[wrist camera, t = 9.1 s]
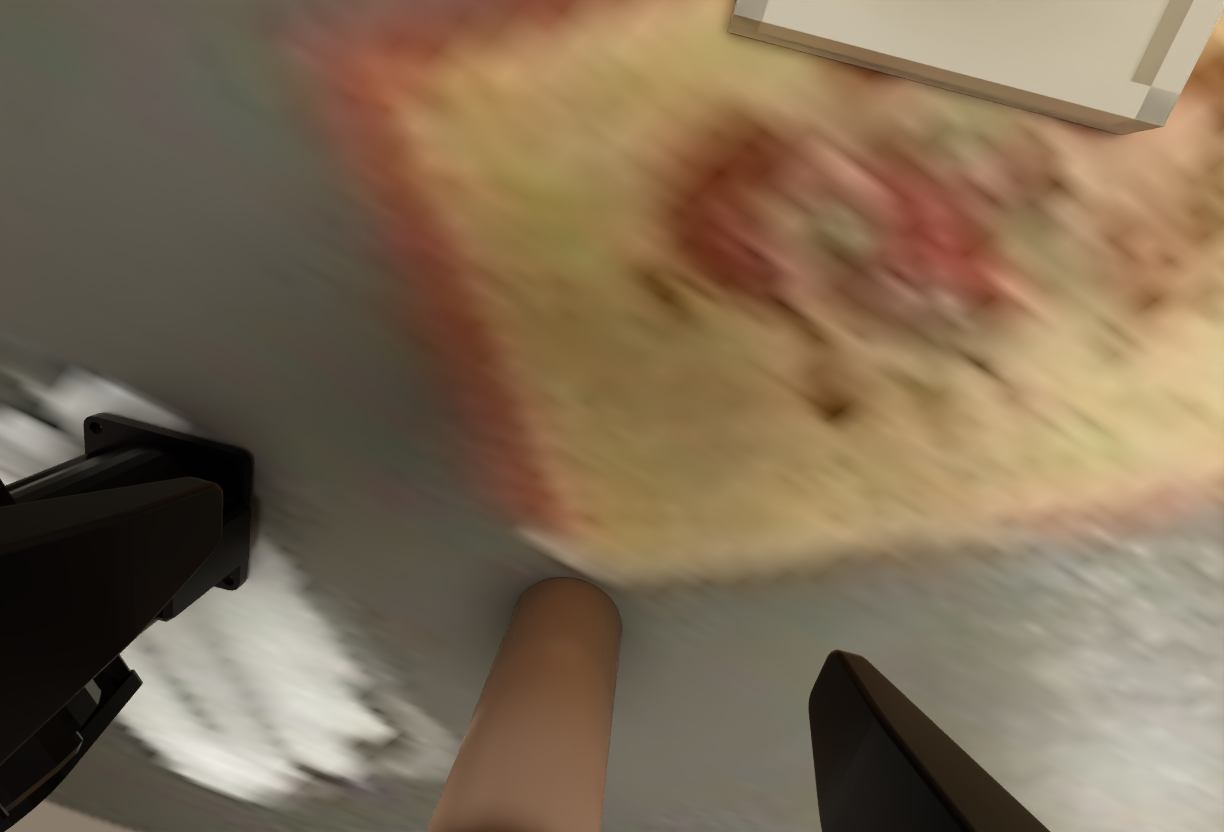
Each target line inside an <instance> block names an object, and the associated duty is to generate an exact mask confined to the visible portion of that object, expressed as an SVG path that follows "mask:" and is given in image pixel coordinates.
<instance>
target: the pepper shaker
mask: <svg viewBox="0 0 1224 832" xmlns="http://www.w3.org/2000/svg"><path fill="white" fill-rule="evenodd" d="M621 633H622V624H621V618H620V614H619V612H618V610H617V608H616V606H615V604H614V603H613V602H612V600H611V599H610V598H609V597H608V596H607V595H606V594H605V593H604V592H603V591H601V590H600V589H599V588H597V587H595V586H594V585H592V584H590V583H587V582H585V581H582V580H578V579H573V578H552V579H548V580H544V581H541V582H539V583H537V584H535V585H533V586H532V587H530V588H529V589H528V590H526V591H525V592H524V594H523V595H522V596H521V597H520V599H519V600H518V602H517V604H516V607H515V609H514V612H513V614H512V617H511V619H510V622H509V624H508V627H507V629H506V632H505V634H504V637H503V640H502V642H501V645H500V647H499V650H498V652H497V655H496V657H495V660H494V662H493V665H492V667H491V670H490V672H489V675H488V678H487V680H486V683H485V685H484V688H483V690H482V693H481V695H480V698H479V700H478V703H477V705H476V708H475V711H474V713H473V716H472V718H471V721H470V723H469V726H468V728H467V731H466V733H465V736H464V738H463V741H462V743H461V746H460V749H459V751H458V754H457V756H456V759H455V761H454V764H453V766H452V769H451V771H450V774H449V776H448V779H447V782H446V784H445V787H444V789H443V792H442V794H441V797H440V799H439V802H438V804H437V807H436V809H435V812H434V814H433V817H432V820H431V822H430V825H429V827H428V830H427V832H600V829H601V819H602V810H603V801H604V791H605V782H606V773H607V763H608V754H609V745H610V735H611V726H612V717H613V707H614V698H615V689H616V679H617V670H618V661H619V651H620V642H621Z"/></svg>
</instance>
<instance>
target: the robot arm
mask: <svg viewBox="0 0 1224 832" xmlns="http://www.w3.org/2000/svg"><path fill="white" fill-rule="evenodd" d="M100 426H101V427H102V428H101V427H100ZM84 439H85V455H82V456H80V457H77V458H75V459H72V460H70V461H67V462H65V463H62V464H60V465H57V466H54V467H52V468H49V469H47V470H44V471H42V472H39V473H37V474H34V475H32V476H29V477H27V478H24V479H21V480H19V481H16V482H14V483H11V484H9V485H6V486H5V485H4V484H3V482H2V481H1V479H0V832H4V831H6V830H7V829H9V828H10V827H11V826H13V825H14V824H15V823H17V822H18V821H19V820H20V819H22V818H23V817H24V816H25V815H27V814H28V813H29V812H30V811H32V810H33V809H34V808H35V807H36V806H37V805H38V804H40V803H41V802H42V801H43V800H44V799H45V798H46V797H47V796H48V795H49V794H50V793H51V792H52V791H53V790H54V789H55V788H56V787H57V786H58V785H59V784H60V783H61V782H62V781H63V780H64V778H65V777H66V776H67V775H68V774H69V772H70V771H71V770H72V769H73V768H74V766H75V765H76V764H77V763H78V762H79V760H80V759H81V758H82V757H83V755H84V754H85V753H86V752H87V751H88V749H89V748H90V747H91V746H92V744H93V743H94V742H95V741H96V740H97V738H98V737H99V736H100V735H101V734H102V732H103V731H104V730H105V729H106V727H107V726H108V725H109V724H110V723H111V721H112V720H113V719H114V718H115V717H116V715H117V714H118V713H119V712H120V710H121V709H122V708H123V707H124V706H125V704H126V703H127V702H128V701H129V700H130V698H131V697H132V696H133V695H134V693H135V692H136V691H137V690H138V689H139V687H140V686H141V685H142V683H143V682H142V680H141V679H140V677H139V676H138V675H137V673H136V672H135V670H130V669H129V668H128V666H127V665H126V663H125V662H124V660H123V659H122V657H121V656H120V653H121V652H122V651H123V650H124V649H125V648H126V647H127V646H128V645H129V644H130V643H131V642H132V641H133V640H134V639H135V638H136V637H137V636H138V635H139V634H141V633H142V632H143V631H144V630H146V629H147V628H148V627H150V626H151V625H152V624H153V623H155V622H156V621H157V620H161V621H166V622H167V621H169V620H171V619H172V618H174V617H176V616H177V615H178V614H180V613H181V612H182V611H183V610H185V609H186V608H187V607H188V606H190V605H191V604H192V603H193V602H195V601H196V600H197V599H198V598H200V597H201V596H202V595H203V594H205V593H206V592H207V591H208V590H210V589H211V588H212V587H213V586H215V587H218V588H222V589H226V590H232V591H233V590H236V589H237V588H239V587H240V586H241V585H242V584H243V583H244V582H245V581H246V578H247V559H248V558H249V543H250V520H251V508H250V483H251V459H250V457H249V455H248V454H247V453H246V452H245V451H243V450H240V449H237V448H234V447H230V446H226V445H222V444H218V443H215V442H211V441H207V440H203V439H200V438H196V437H192V436H188V435H185V434H181V433H177V432H173V431H170V430H166V429H162V428H158V427H155V426H151V425H147V424H143V423H139V422H136V421H132V420H128V419H124V418H121V417H117V416H113V415H109V414H106V413H99V414H96V415H92V416H90V417H87V418H86V419H85V420H84ZM233 459H234V460H236V462H237V463H238V465H236V464H235V463H234V462H233ZM230 576H231V577H232V578H233V579H232V578H231V577H230ZM809 719H810V729H811V739H812V749H813V758H814V768H815V778H816V788H817V798H818V807H819V814H820V822H821V828H822V832H1050V831H1049V830H1048V829H1047V828H1046V827H1045V826H1044V825H1043V824H1042V823H1041V822H1040V821H1038V820H1037V819H1036V818H1035V817H1034V816H1033V815H1032V814H1031V813H1030V812H1029V811H1028V810H1027V809H1026V808H1025V807H1024V806H1022V805H1021V804H1020V803H1019V802H1018V801H1017V800H1016V799H1015V798H1014V797H1013V796H1012V795H1011V794H1010V793H1009V792H1007V791H1006V790H1005V789H1004V788H1003V787H1002V786H1001V785H1000V784H999V783H998V782H997V781H996V780H995V779H994V778H993V777H991V776H990V775H989V774H988V773H987V772H986V771H985V770H984V769H983V768H982V767H981V766H980V765H979V764H978V763H977V762H975V761H974V760H973V759H972V758H971V757H970V756H969V755H968V754H967V753H966V752H965V751H964V750H963V749H962V748H960V747H959V746H958V745H957V744H956V743H955V742H954V741H953V740H952V739H951V738H950V737H949V736H948V735H947V734H946V733H944V732H943V731H942V730H941V729H940V728H939V727H938V726H937V725H936V724H935V723H934V722H933V721H932V720H931V719H930V718H928V717H927V716H926V715H925V714H924V713H923V712H922V711H921V710H920V709H919V708H918V707H917V706H916V705H915V704H913V703H912V702H911V701H910V700H909V699H908V698H907V697H906V696H905V695H904V694H903V693H902V692H901V691H900V690H899V689H897V688H896V687H895V686H894V685H893V684H892V683H891V682H890V681H889V680H888V679H887V678H886V677H885V676H884V675H883V674H881V673H880V672H879V671H878V670H877V669H876V668H875V667H874V666H873V665H872V664H871V663H870V662H869V661H868V660H866V659H865V658H864V657H862V656H860V655H857V654H853V653H849V652H845V651H841V650H834V651H832V652H831V653H830V654H829V655H828V657H827V659H826V661H825V663H824V665H823V667H822V669H821V672H820V674H819V676H818V678H817V680H816V682H815V684H814V687H813V689H812V691H811V694H810V698H809Z"/></svg>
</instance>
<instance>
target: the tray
mask: <svg viewBox="0 0 1224 832" xmlns="http://www.w3.org/2000/svg"><path fill="white" fill-rule="evenodd" d="M1223 10H1224V0H736V3H735V7H734V10H733V14H732V18H731V22H730V25H729V29H728V32H730V33H734V34H738V35H742V36H745V37H749V38H753V39H757V40H761V41H765V42H768V43H772V44H776V45H780V46H784V47H787V48H791V49H795V50H799V51H803V52H807V53H810V54H814V55H818V56H822V57H826V58H829V59H833V60H837V61H841V62H845V63H849V64H852V65H856V66H860V67H864V68H868V69H871V70H875V71H879V72H883V73H887V74H890V75H894V76H898V77H902V78H906V79H910V80H913V81H917V82H921V83H925V84H929V85H932V86H936V87H940V88H944V89H948V90H952V91H955V92H959V93H963V94H967V95H971V96H974V97H978V98H982V99H986V100H990V101H994V102H997V103H1001V104H1005V105H1009V106H1013V107H1016V108H1020V109H1024V110H1028V111H1032V112H1036V113H1039V114H1043V115H1047V116H1051V117H1055V118H1058V119H1062V120H1066V121H1070V122H1074V123H1078V124H1081V125H1085V126H1089V127H1093V128H1097V129H1100V130H1104V131H1108V132H1112V133H1116V134H1120V135H1124V134H1129V133H1134V132H1139V131H1144V130H1149V129H1154V128H1159V127H1164V125H1165V123H1166V121H1167V119H1168V117H1169V115H1170V113H1171V111H1172V109H1173V107H1174V105H1175V103H1176V101H1177V99H1178V97H1179V96H1180V94H1181V92H1182V90H1183V88H1184V86H1185V84H1186V82H1187V80H1188V78H1189V76H1190V74H1191V72H1192V70H1193V68H1194V66H1195V64H1196V62H1197V60H1198V58H1199V56H1200V55H1201V53H1202V51H1203V49H1204V47H1205V45H1206V43H1207V41H1208V39H1209V37H1210V35H1211V33H1212V31H1213V29H1214V27H1215V25H1216V23H1217V21H1218V19H1219V17H1220V15H1221V14H1222V12H1223Z"/></svg>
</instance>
